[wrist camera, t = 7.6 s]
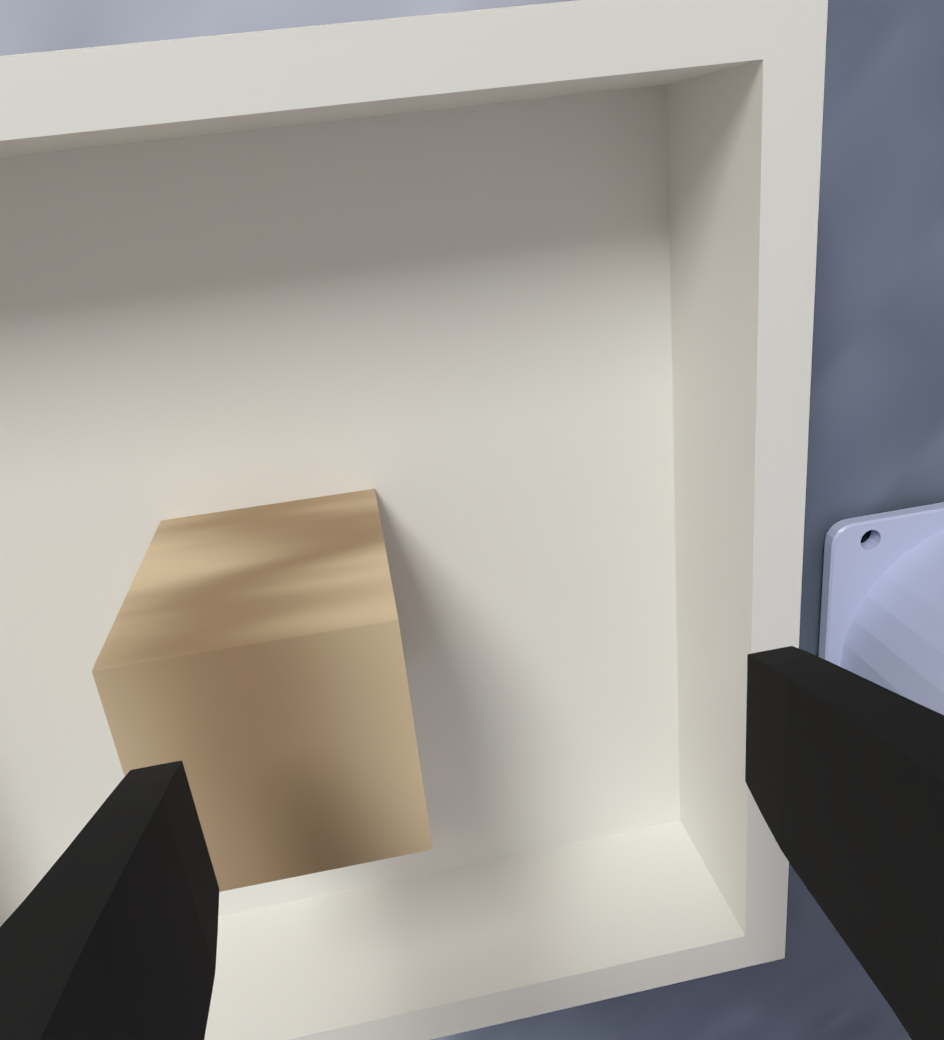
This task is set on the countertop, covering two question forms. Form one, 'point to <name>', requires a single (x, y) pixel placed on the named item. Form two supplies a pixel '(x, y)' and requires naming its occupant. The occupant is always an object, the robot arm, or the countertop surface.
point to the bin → (436, 459)
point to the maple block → (272, 686)
